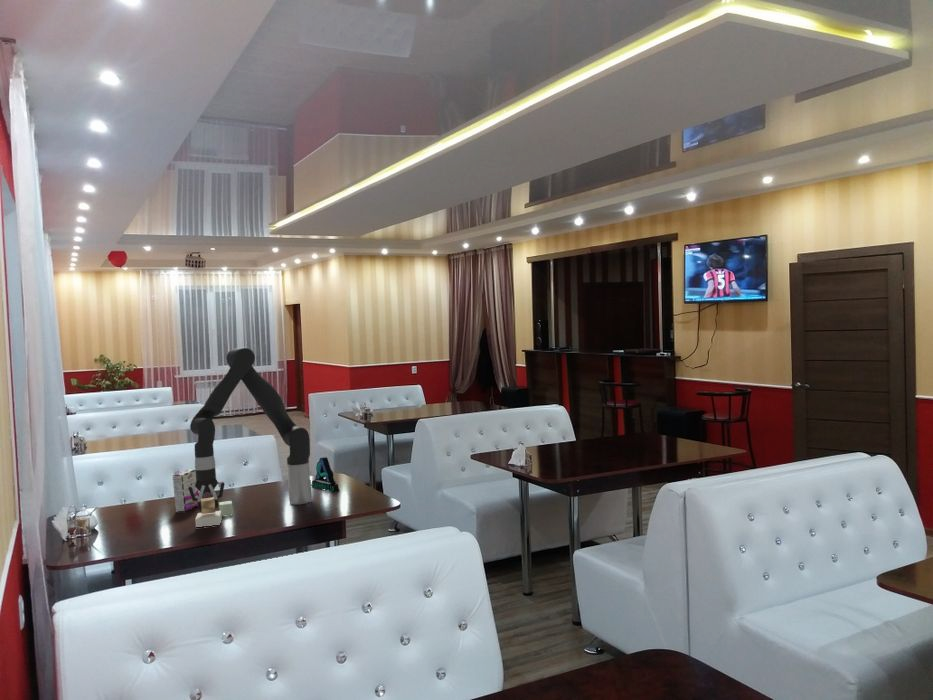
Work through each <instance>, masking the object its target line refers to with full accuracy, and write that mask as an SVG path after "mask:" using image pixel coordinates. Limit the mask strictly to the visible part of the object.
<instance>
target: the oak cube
mask: <svg viewBox="0 0 933 700" xmlns="http://www.w3.org/2000/svg"><path fill="white" fill-rule="evenodd" d="M201 508H202V511H201V513H202V514H208V513H215V511H216V509H215V500H214V497H213V496H212V497H207V498H205V497H204V498H201Z"/></svg>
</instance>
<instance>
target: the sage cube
mask: <svg viewBox="0 0 933 700" xmlns="http://www.w3.org/2000/svg"><path fill="white" fill-rule="evenodd" d="M218 511H221V515H222V516H223V517H225V516H224V515H230V516H232V515H231V514H233V515H234V510H233V502H232V500H226V501H218Z"/></svg>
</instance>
